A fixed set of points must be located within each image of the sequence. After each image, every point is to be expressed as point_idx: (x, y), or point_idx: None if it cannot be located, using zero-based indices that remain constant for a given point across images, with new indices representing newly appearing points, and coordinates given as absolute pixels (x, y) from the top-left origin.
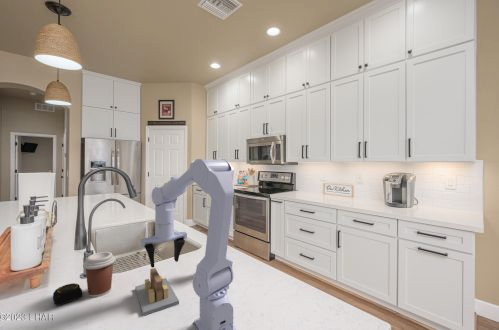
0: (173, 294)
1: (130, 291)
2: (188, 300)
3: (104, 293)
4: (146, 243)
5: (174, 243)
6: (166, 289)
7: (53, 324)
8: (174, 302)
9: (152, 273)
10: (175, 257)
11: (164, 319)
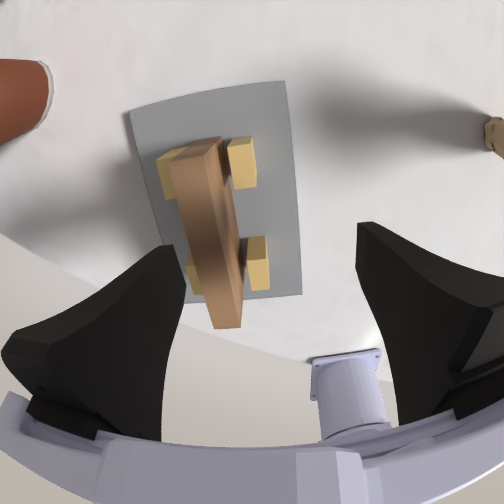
0: (293, 251)
1: (117, 121)
2: (335, 281)
3: (39, 122)
4: (58, 440)
5: (433, 311)
6: (262, 287)
7: (3, 232)
8: (285, 294)
9: (186, 235)
10: (365, 268)
11: (245, 329)
